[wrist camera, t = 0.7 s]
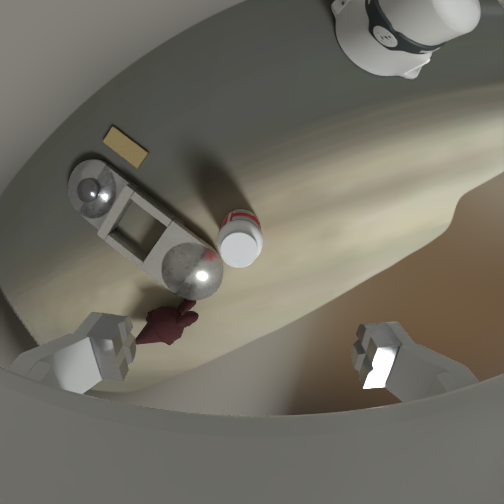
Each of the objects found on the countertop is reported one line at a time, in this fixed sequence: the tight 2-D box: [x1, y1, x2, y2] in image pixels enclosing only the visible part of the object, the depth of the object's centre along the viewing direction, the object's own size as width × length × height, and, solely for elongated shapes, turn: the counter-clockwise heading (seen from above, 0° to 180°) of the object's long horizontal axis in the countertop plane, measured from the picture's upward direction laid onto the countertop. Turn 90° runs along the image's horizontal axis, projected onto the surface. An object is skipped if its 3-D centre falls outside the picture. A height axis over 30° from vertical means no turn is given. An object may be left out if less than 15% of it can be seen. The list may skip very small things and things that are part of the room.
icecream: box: [135, 299, 198, 345], centre depth 49 cm, size 7×7×15 cm
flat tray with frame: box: [68, 159, 223, 300], centre depth 45 cm, size 32×10×3 cm, turn 51°
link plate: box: [103, 126, 149, 168], centre depth 42 cm, size 8×3×1 cm, turn 50°
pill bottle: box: [217, 209, 263, 268], centre depth 42 cm, size 6×6×11 cm
